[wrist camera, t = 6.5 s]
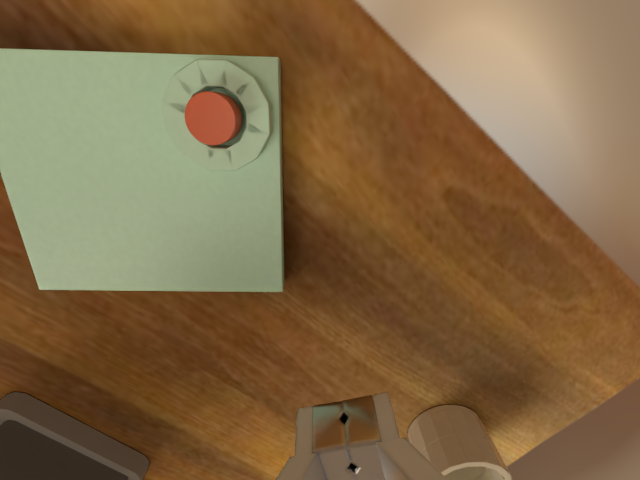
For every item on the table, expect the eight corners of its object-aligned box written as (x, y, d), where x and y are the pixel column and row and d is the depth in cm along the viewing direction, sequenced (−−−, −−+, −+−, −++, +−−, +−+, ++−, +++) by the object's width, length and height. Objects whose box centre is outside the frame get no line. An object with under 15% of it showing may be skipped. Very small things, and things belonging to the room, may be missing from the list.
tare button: (240, 93, 17) (234, 91, 15) (243, 142, 18) (237, 145, 16) (192, 91, 17) (181, 90, 15) (197, 141, 18) (187, 144, 16)
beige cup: (488, 404, 29) (522, 462, 24) (473, 457, 31) (501, 518, 26) (412, 404, 28) (431, 462, 24) (403, 457, 31) (419, 519, 26)
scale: (280, 60, 19) (275, 52, 16) (284, 282, 24) (280, 305, 21) (-17, 51, 18) (-77, 41, 15) (54, 279, 23) (19, 303, 20)
